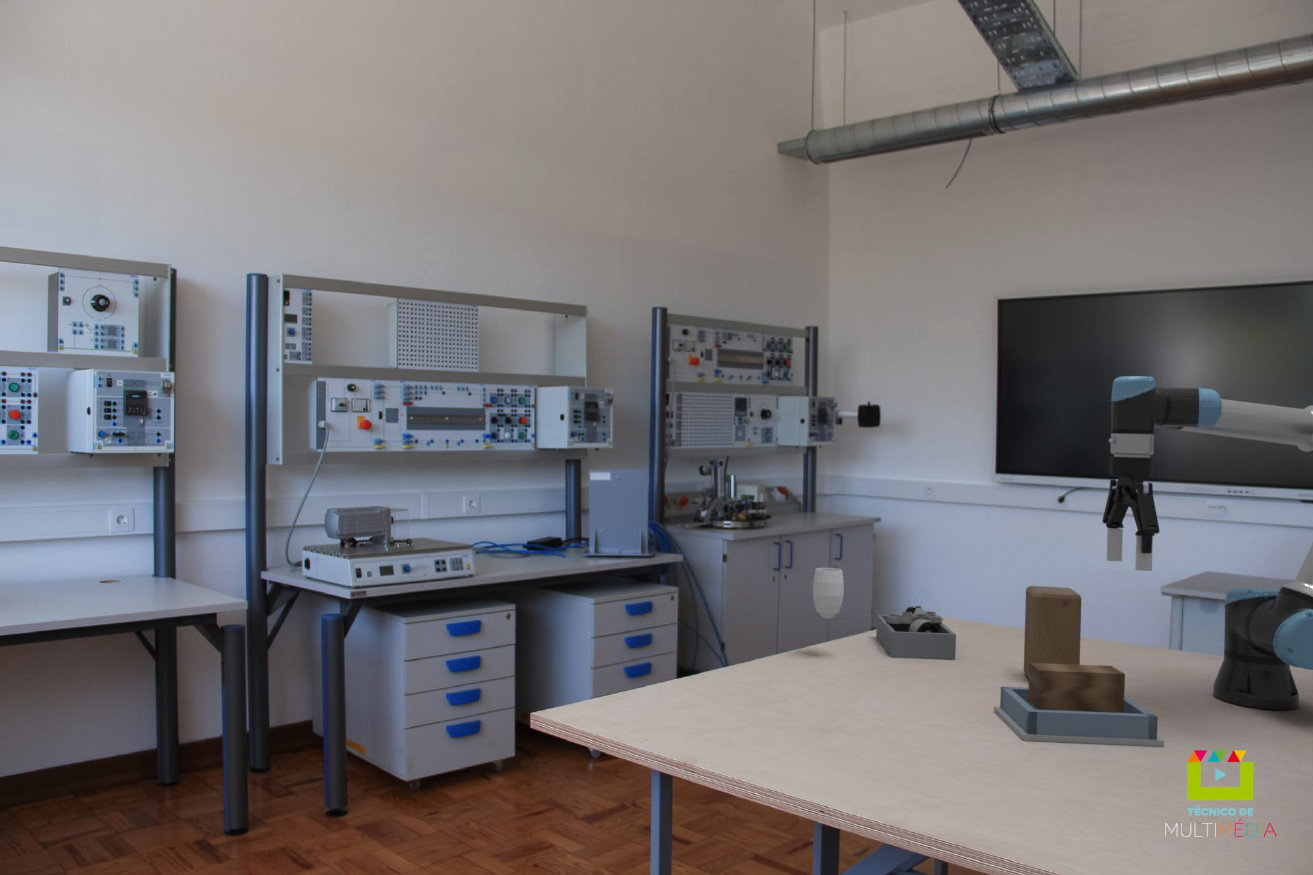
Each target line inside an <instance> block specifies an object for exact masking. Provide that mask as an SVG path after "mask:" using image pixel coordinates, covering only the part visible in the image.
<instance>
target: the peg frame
mask: <svg viewBox="0 0 1313 875" xmlns="http://www.w3.org/2000/svg"><path fill="white" fill-rule="evenodd" d="M1028 692H1029V687H1026V686H1025V687H1024V686H1023V687H1021V686H1019V687H1018V686H1000V702H999V703H1000V704H999V705H1000V706H999V705H996V706H993V708H994V709H993V712H994V713H995V714H996V715H997V716H998V717H999V718H1000V719H1001V720H1002V721H1003V722H1004V723H1005V724H1006V725H1007V726H1008V727H1009V728H1010V729H1011V730H1012V731H1013V732H1014V733H1015V734H1016V735H1017V736H1018V737H1019V738H1020V739H1021V740H1022V741H1024V742H1025V741H1026V742H1028V741H1029V742H1046V743H1048V742H1049V743H1070V744H1072V743H1073V744H1093V745H1094V744H1095V745H1115V746H1116V745H1117V746H1119V745H1120V746H1138V747H1139V746H1140V747H1141V746H1142V747H1165V740H1164V739H1162V738H1161V737H1159V736H1158V722H1159V721H1158V719H1159V717H1158V716H1157V715H1155V714H1154V713H1153V712H1151V711H1149V710H1148V709H1146V708H1145V707H1144V706H1142V705H1141V704H1139V703H1137V702H1136V701H1134V700H1133V699H1131V698H1129V697H1128V696H1127V695H1125V694H1124V713H1121V712H1096V711H1071V710H1046V709H1038V708H1037V707H1036V706H1035V705H1033V704H1032V703H1031V702H1030V701H1029V700H1028Z"/></svg>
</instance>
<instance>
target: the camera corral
mask: <svg viewBox="0 0 1313 875" xmlns="http://www.w3.org/2000/svg"><path fill="white" fill-rule="evenodd" d="M889 615H890V614H889ZM889 615H888V614H887V615H886V614H877V615H876V633H875V634H876V637H875V638H876V639H877V641H878V642H879V643H880V645H881V646H882V647H883V648H884V650H885V651H886V652H887V654H888V655H889V656H890V657H891V658H892V659H895V658H896V659H898V658H899V659H919V660H920V659H924V660H945V661H946V660H947V661H948V660H949V661H950V660H951V661H956V655H957V654H956V653H957V652H956V650H957V648H956V646H957V645H956V644H957V643H956V642H957V634H956V633H955V632H953V631H952V630H951V629H950V628H949V627H948V626H947V625H946V624H944V623H943V622H942V623H941V624H939V631H940V633H921V632H895V630H894V629H893V628H892V627H891V626H890V625H888V624H887V616H889Z"/></svg>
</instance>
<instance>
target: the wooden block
mask: <svg viewBox="0 0 1313 875" xmlns="http://www.w3.org/2000/svg"><path fill="white" fill-rule="evenodd" d="M1024 609H1025V612H1024V616H1025V618H1024V644H1023V645H1024V649H1023V652H1024V654H1023V672H1024V674H1025V676H1026V677H1027V679H1028V680H1029V663H1048V664H1075V665H1081V632H1082V631H1081V630H1082V629H1081V628H1082V625H1081V624H1082V596H1081V594H1080V593H1078V592H1077V591H1076V590H1074V589H1072V588H1070V587H1060V586H1059V587H1058V586H1056V587H1055V586H1042V585H1041V586H1039V585H1030V586H1027V588H1026V589H1025V608H1024Z"/></svg>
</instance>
